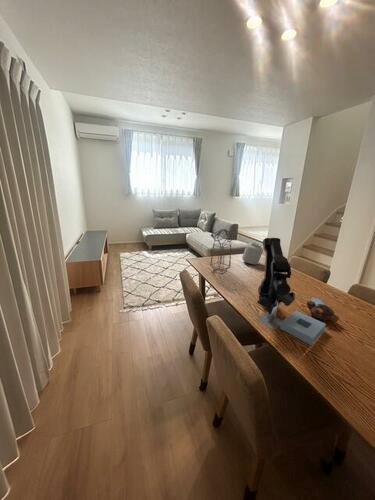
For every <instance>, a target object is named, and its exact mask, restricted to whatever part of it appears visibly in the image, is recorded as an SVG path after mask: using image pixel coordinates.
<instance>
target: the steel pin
mask: <svg viewBox="0 0 375 500" xmlns="http://www.w3.org/2000/svg"><path fill="white" fill-rule="evenodd" d="M275 305H277V306H275V307H274V308H273V310H272V313H271V315H270V314H268V312H266V313H267V319H269V320H271V321H274V320H275V318H277V317H276V316H277V311H278V308H277V307H279V306H278V300H276V302H275Z"/></svg>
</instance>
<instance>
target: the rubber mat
mask: <svg viewBox="0 0 375 500" xmlns="http://www.w3.org/2000/svg"><path fill="white" fill-rule="evenodd" d="M267 313H268V312H265V313H264V314H263V315H261V316H259V317H258V318H256V321H259V322H260V323H262V324H264V325H265V326H267V327H269V328H271V329H272V330H277V329H278V328H280V325H281V322H282V321H283V320H282V319H280V318H279V317H276V318H275V320H274V321H271V320H269V319H267Z"/></svg>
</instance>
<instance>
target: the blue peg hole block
mask: <svg viewBox="0 0 375 500" xmlns="http://www.w3.org/2000/svg"><path fill="white" fill-rule="evenodd" d="M326 325H327V323H325V322H321V320H318V319H316V318H312V316H309V315H307V314H304V313H303V312H301V311H298V310H294V311H293V312H292V313H290V314H289V315H288V316H287V317H286V318H284V319H283V320H282V322H281V325H280V326H279V329H280V330H282V331H284V332H286V333H288V334H289V335H291V336H293V337H295V338H297V339H299V340H301V341H302V342H304V343H306V344H307V345H310V346H312V345H313V344H314V343H315V342H316V341H317V340H318V338H320V336H321V335H322V334H323V333H324V332H325V328H326Z"/></svg>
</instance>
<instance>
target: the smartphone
mask: <svg viewBox="0 0 375 500" xmlns="http://www.w3.org/2000/svg"><path fill="white" fill-rule="evenodd" d="M308 301H313V302H314V303H315V305H317V304H323V305H326V303H325V301H323V300H322V299H321V298H317V297H315V298H314V297H308ZM326 306H327V305H326Z"/></svg>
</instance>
